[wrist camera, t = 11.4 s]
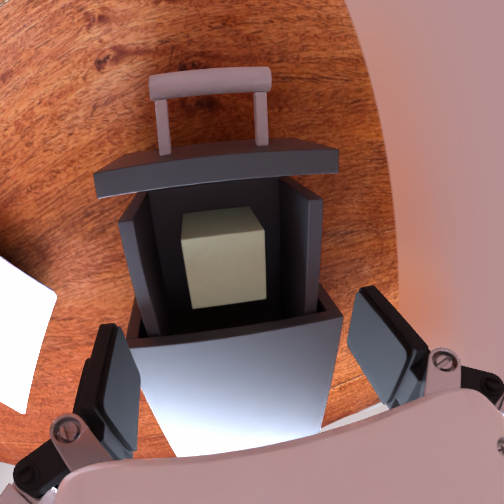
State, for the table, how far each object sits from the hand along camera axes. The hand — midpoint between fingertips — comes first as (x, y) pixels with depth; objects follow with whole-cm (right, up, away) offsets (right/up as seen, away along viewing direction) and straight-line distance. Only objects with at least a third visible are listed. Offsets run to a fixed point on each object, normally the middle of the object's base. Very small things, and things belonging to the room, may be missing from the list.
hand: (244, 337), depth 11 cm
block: (-2, +4, +9) cm, 10 cm away
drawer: (-2, +6, +9) cm, 11 cm away
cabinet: (-2, -4, +15) cm, 16 cm away
